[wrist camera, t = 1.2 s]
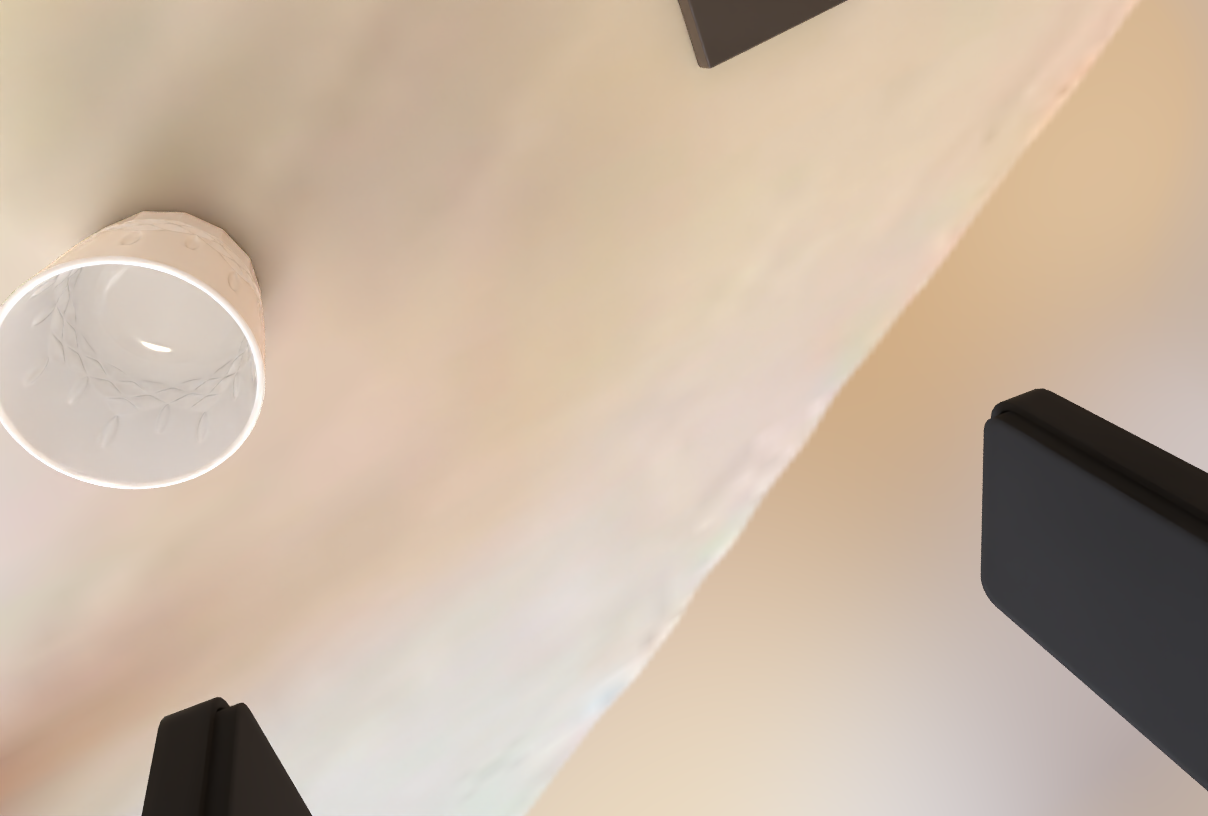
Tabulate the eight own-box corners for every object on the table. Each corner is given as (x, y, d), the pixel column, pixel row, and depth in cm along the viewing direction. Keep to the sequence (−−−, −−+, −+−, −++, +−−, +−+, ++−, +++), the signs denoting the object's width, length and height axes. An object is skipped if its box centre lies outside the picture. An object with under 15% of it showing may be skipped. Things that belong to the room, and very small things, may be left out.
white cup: (268, 198, 35) (256, 258, 26) (280, 375, 38) (272, 481, 30) (49, 191, 33) (-45, 254, 24) (80, 381, 36) (7, 498, 27)
